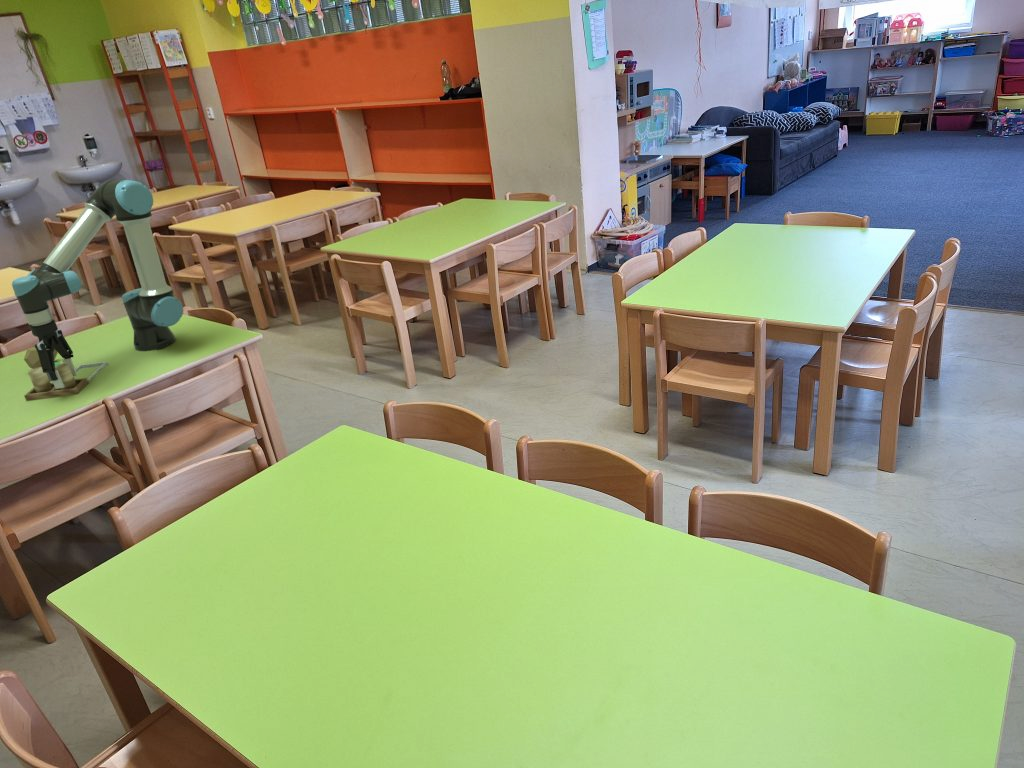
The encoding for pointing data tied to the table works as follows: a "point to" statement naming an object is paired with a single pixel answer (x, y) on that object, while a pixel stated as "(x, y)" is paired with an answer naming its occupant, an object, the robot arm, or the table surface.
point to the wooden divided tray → (57, 391)
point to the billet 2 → (66, 376)
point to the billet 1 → (40, 380)
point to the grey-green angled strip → (101, 364)
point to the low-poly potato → (34, 357)
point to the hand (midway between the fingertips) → (66, 381)
